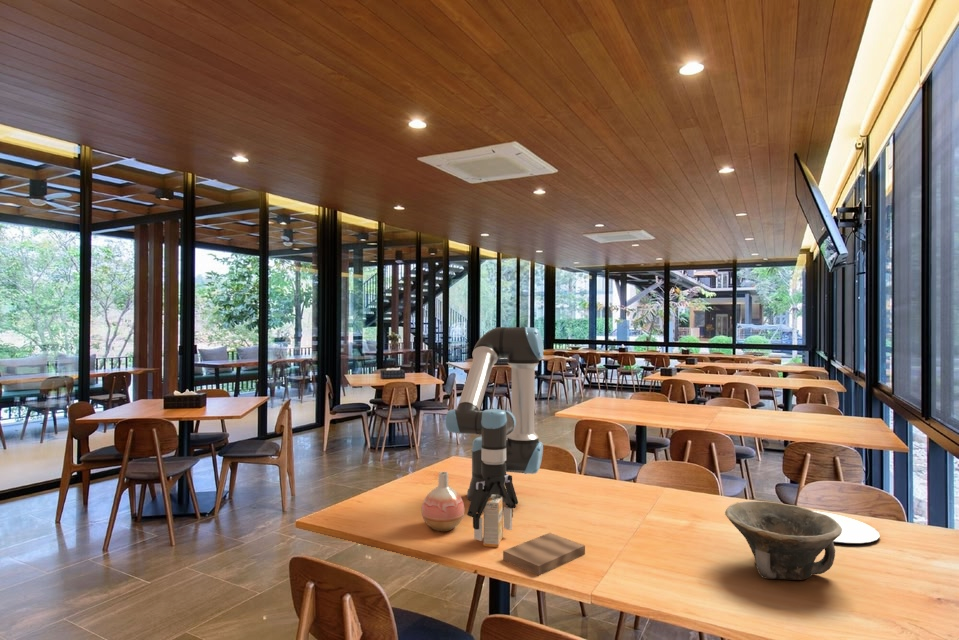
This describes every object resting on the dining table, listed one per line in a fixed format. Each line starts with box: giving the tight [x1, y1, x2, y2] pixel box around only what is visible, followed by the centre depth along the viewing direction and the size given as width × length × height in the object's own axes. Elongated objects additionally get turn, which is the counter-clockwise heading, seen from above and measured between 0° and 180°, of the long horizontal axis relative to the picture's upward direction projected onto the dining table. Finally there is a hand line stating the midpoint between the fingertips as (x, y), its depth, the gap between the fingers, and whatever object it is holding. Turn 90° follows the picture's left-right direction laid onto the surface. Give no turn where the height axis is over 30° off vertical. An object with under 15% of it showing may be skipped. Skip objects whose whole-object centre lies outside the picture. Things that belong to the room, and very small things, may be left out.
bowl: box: [724, 500, 842, 581], centre depth 143 cm, size 27×26×15 cm
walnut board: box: [502, 532, 586, 577], centre depth 152 cm, size 20×13×2 cm, turn 133°
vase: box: [421, 471, 465, 532], centre depth 174 cm, size 14×14×18 cm
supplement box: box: [482, 495, 504, 548], centre depth 163 cm, size 8×5×13 cm, turn 168°
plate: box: [813, 510, 881, 545], centre depth 175 cm, size 29×29×2 cm
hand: (493, 534), depth 163 cm, fingers open, 12 cm apart
